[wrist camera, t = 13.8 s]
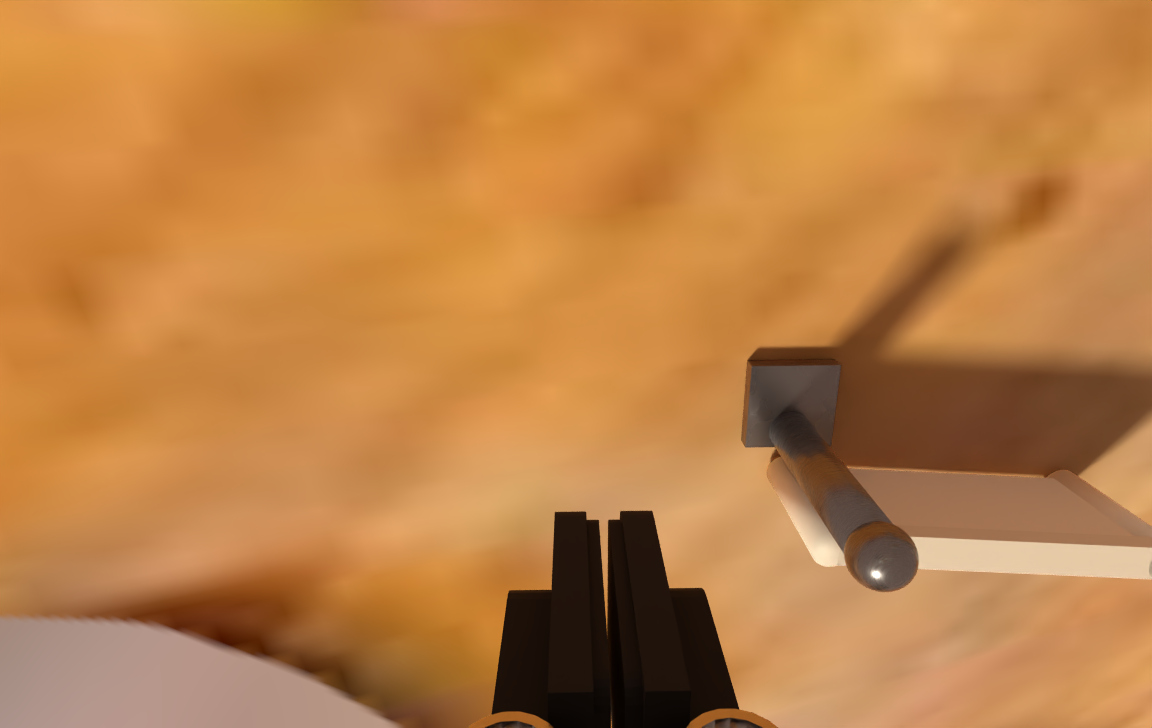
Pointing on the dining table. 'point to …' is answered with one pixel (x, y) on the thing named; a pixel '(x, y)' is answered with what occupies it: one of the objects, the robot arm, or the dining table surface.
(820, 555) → the gate leaf
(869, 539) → the gate post
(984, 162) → the dining table surface
